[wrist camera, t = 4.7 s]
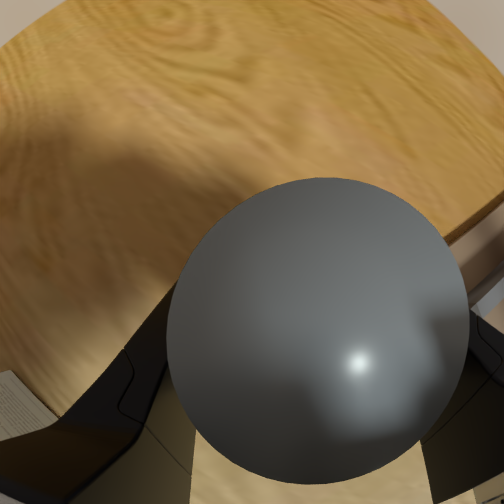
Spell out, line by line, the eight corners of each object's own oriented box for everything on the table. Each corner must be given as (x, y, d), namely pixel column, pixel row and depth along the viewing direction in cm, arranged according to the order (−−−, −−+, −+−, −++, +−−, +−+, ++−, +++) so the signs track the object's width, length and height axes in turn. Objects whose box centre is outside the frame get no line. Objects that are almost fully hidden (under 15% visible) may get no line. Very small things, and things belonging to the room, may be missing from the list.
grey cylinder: (257, 381, 15) (266, 523, 4) (206, 290, 16) (112, 273, 5) (347, 330, 15) (498, 374, 4) (298, 240, 16) (383, 133, 5)
